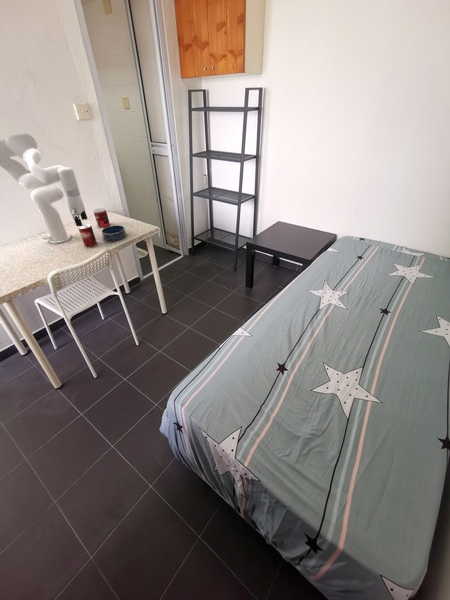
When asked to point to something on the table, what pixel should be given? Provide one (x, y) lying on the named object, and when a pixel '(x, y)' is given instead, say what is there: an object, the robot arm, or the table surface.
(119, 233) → the dark blue bowl
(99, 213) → the canned food
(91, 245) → the soda can
